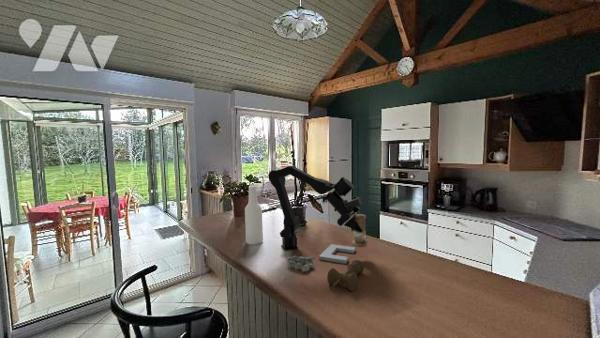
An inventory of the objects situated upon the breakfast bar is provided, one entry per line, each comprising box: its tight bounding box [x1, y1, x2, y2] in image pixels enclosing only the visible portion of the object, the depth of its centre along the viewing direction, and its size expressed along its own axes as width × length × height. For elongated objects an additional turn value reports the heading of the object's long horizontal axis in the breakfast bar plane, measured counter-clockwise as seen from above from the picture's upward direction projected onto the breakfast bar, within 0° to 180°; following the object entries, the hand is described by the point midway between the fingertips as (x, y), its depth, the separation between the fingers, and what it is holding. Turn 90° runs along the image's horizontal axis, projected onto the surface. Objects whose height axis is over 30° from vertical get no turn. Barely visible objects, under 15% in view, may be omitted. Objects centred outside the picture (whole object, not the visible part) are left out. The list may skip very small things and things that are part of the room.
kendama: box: [326, 259, 365, 292], centre depth 97 cm, size 6×10×20 cm
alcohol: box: [244, 185, 264, 246], centre depth 141 cm, size 9×9×30 cm
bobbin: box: [352, 213, 368, 248], centre depth 117 cm, size 6×6×13 cm
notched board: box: [318, 243, 356, 265], centre depth 122 cm, size 12×16×2 cm
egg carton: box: [286, 254, 315, 272], centre depth 111 cm, size 11×8×4 cm
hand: (362, 229), depth 116 cm, fingers closed on bobbin, 5 cm apart
